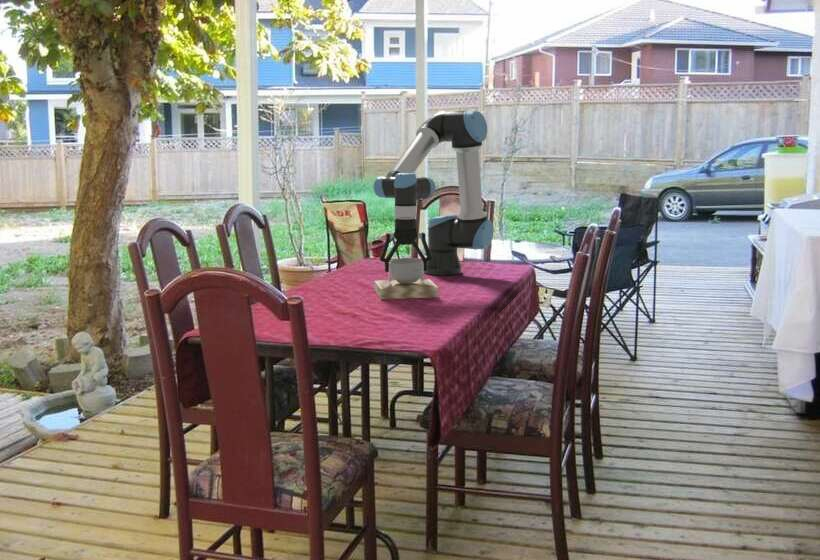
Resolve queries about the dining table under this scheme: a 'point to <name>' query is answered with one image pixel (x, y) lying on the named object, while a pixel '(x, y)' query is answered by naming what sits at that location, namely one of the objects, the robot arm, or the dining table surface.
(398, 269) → the teacup
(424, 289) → the beige tray
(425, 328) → the dining table surface
